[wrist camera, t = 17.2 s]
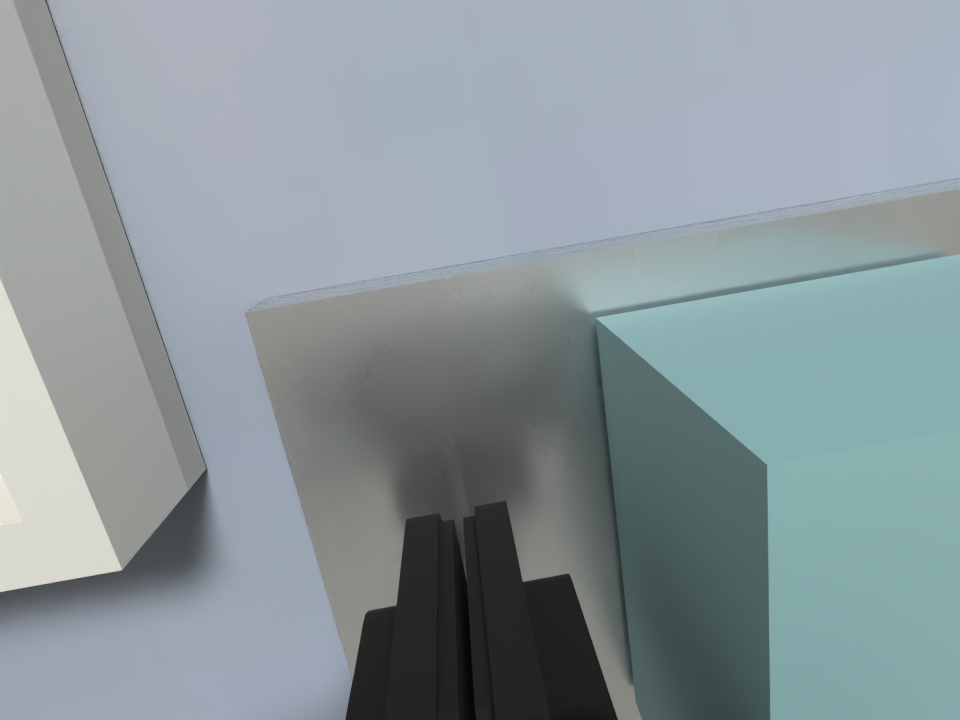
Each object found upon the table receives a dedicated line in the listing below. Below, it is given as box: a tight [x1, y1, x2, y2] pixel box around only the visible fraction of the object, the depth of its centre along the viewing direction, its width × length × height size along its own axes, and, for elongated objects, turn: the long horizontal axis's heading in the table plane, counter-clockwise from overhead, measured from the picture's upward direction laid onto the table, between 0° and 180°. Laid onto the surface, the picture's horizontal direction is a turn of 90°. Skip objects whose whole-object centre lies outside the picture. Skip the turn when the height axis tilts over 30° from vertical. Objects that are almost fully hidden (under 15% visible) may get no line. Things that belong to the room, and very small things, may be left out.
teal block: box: [596, 254, 960, 720], centre depth 8 cm, size 8×6×5 cm
